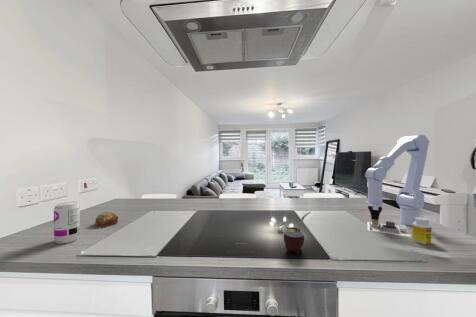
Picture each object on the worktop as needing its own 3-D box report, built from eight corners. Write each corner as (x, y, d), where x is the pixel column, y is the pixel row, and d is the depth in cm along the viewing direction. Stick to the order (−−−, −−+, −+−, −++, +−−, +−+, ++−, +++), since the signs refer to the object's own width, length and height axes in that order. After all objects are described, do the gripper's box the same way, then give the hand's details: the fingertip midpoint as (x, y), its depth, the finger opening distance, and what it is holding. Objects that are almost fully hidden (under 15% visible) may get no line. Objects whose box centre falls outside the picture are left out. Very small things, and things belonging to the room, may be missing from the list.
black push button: (385, 225, 95) (385, 220, 95) (394, 226, 93) (394, 221, 93) (386, 227, 92) (386, 222, 92) (395, 228, 90) (395, 223, 90)
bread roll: (97, 230, 108) (89, 217, 106) (117, 218, 114) (110, 205, 112) (101, 235, 101) (92, 222, 98) (122, 222, 107) (114, 209, 105)
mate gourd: (280, 249, 77) (280, 208, 77) (298, 246, 80) (298, 206, 80) (292, 258, 70) (292, 213, 70) (311, 254, 73) (311, 211, 73)
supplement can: (54, 246, 80) (53, 207, 80) (54, 239, 86) (53, 203, 86) (80, 240, 85) (80, 203, 85) (78, 235, 92) (78, 200, 91)
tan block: (371, 225, 99) (371, 218, 99) (378, 226, 98) (378, 219, 98) (372, 227, 96) (372, 220, 96) (378, 228, 95) (378, 221, 95)
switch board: (367, 224, 105) (367, 218, 105) (405, 230, 97) (405, 223, 97) (367, 233, 93) (367, 227, 93) (411, 240, 85) (411, 233, 85)
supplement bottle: (428, 249, 77) (428, 221, 77) (409, 244, 81) (409, 217, 81) (433, 246, 80) (433, 219, 80) (415, 241, 84) (415, 215, 84)
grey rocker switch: (398, 226, 94) (398, 224, 93) (405, 227, 92) (405, 225, 92) (400, 230, 90) (400, 228, 90) (407, 231, 89) (407, 229, 88)
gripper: (365, 190, 107) (364, 216, 107) (365, 194, 95) (364, 224, 95) (381, 191, 104) (381, 219, 104) (384, 196, 91) (383, 227, 91)
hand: (374, 222), depth 99 cm, fingers closed
